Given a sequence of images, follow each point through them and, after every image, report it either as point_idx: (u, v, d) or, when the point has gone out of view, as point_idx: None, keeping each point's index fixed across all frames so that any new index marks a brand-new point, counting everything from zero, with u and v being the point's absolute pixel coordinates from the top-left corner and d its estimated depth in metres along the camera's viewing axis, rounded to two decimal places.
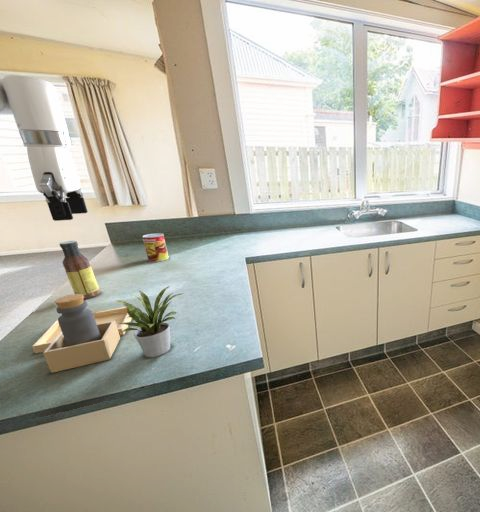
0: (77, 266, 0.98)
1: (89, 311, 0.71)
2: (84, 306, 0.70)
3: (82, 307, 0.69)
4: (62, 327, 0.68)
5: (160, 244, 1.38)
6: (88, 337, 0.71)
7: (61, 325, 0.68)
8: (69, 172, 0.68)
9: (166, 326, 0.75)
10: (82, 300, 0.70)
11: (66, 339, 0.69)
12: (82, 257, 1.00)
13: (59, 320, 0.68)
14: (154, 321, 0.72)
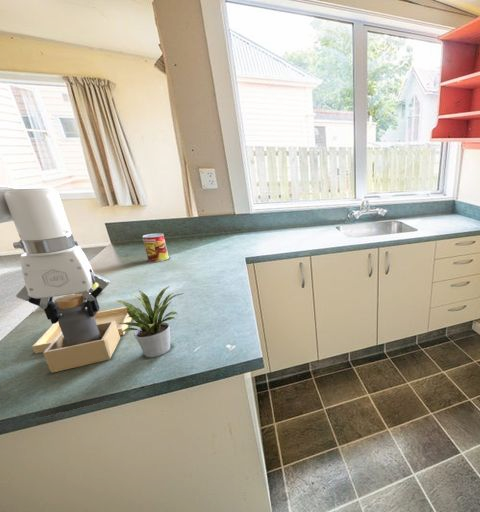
0: None
1: None
2: (84, 306, 0.70)
3: (82, 307, 0.69)
4: (62, 327, 0.68)
5: (160, 244, 1.38)
6: (88, 337, 0.71)
7: (61, 325, 0.68)
8: None
9: (166, 326, 0.75)
10: (82, 300, 0.70)
11: (66, 339, 0.69)
12: None
13: (59, 320, 0.68)
14: (154, 321, 0.72)
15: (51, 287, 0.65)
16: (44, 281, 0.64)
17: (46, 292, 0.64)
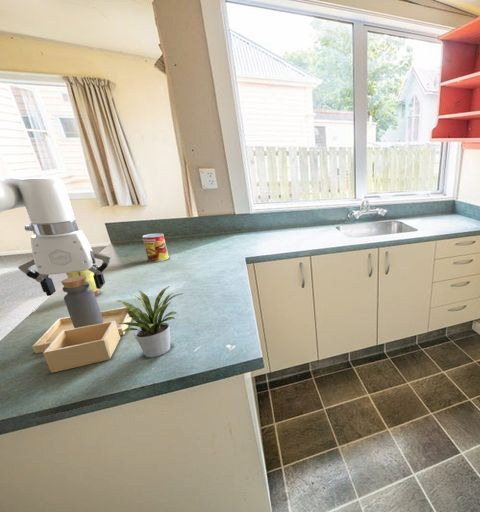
0: None
1: (91, 291, 0.81)
2: (87, 286, 0.80)
3: (85, 287, 0.79)
4: (67, 304, 0.78)
5: (160, 244, 1.38)
6: (90, 314, 0.81)
7: (66, 302, 0.78)
8: None
9: (166, 326, 0.75)
10: (85, 281, 0.80)
11: (71, 315, 0.79)
12: None
13: (65, 298, 0.78)
14: (154, 321, 0.72)
15: (56, 265, 0.74)
16: (51, 259, 0.73)
17: (52, 269, 0.74)
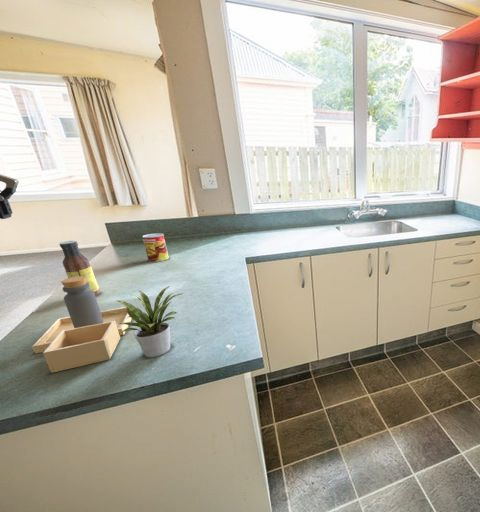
0: (77, 266, 0.98)
1: (91, 291, 0.81)
2: (87, 286, 0.80)
3: (85, 287, 0.79)
4: (67, 304, 0.78)
5: (160, 244, 1.38)
6: (90, 314, 0.81)
7: (67, 302, 0.78)
8: None
9: (166, 326, 0.75)
10: (85, 281, 0.80)
11: (71, 315, 0.79)
12: (82, 257, 1.00)
13: (65, 298, 0.78)
14: (154, 321, 0.72)
15: None
16: None
17: None
